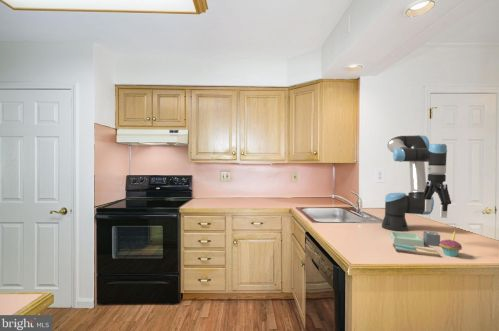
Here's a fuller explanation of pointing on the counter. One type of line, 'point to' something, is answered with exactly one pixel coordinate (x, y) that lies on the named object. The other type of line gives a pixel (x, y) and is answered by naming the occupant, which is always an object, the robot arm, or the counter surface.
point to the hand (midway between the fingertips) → (435, 214)
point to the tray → (406, 238)
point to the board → (416, 250)
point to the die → (431, 238)
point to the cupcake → (450, 247)
